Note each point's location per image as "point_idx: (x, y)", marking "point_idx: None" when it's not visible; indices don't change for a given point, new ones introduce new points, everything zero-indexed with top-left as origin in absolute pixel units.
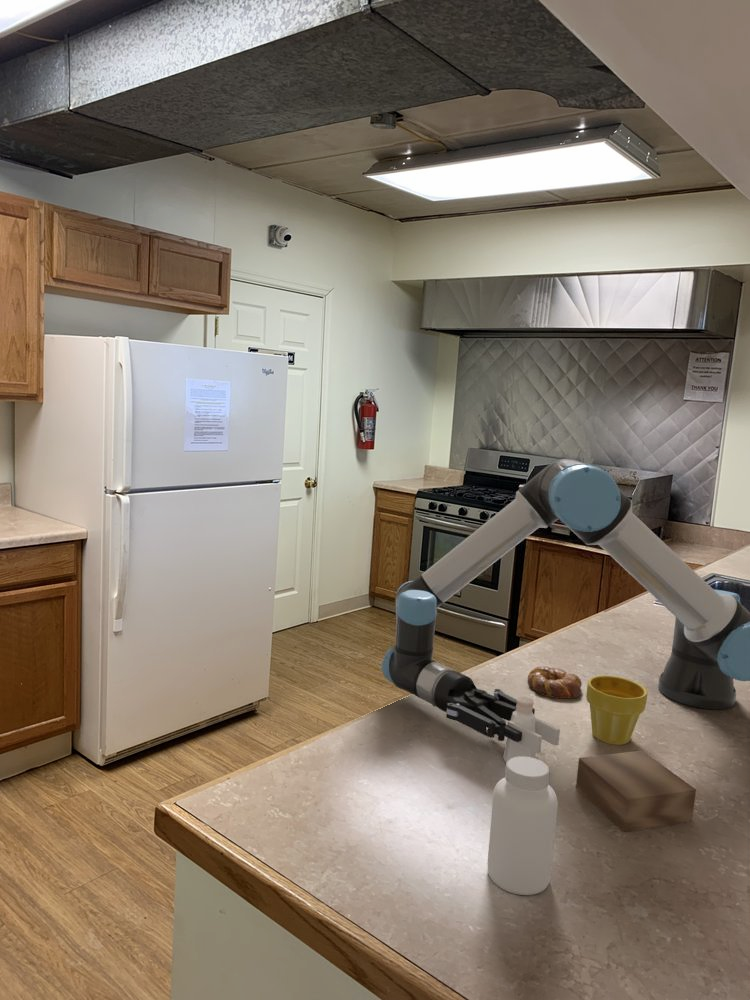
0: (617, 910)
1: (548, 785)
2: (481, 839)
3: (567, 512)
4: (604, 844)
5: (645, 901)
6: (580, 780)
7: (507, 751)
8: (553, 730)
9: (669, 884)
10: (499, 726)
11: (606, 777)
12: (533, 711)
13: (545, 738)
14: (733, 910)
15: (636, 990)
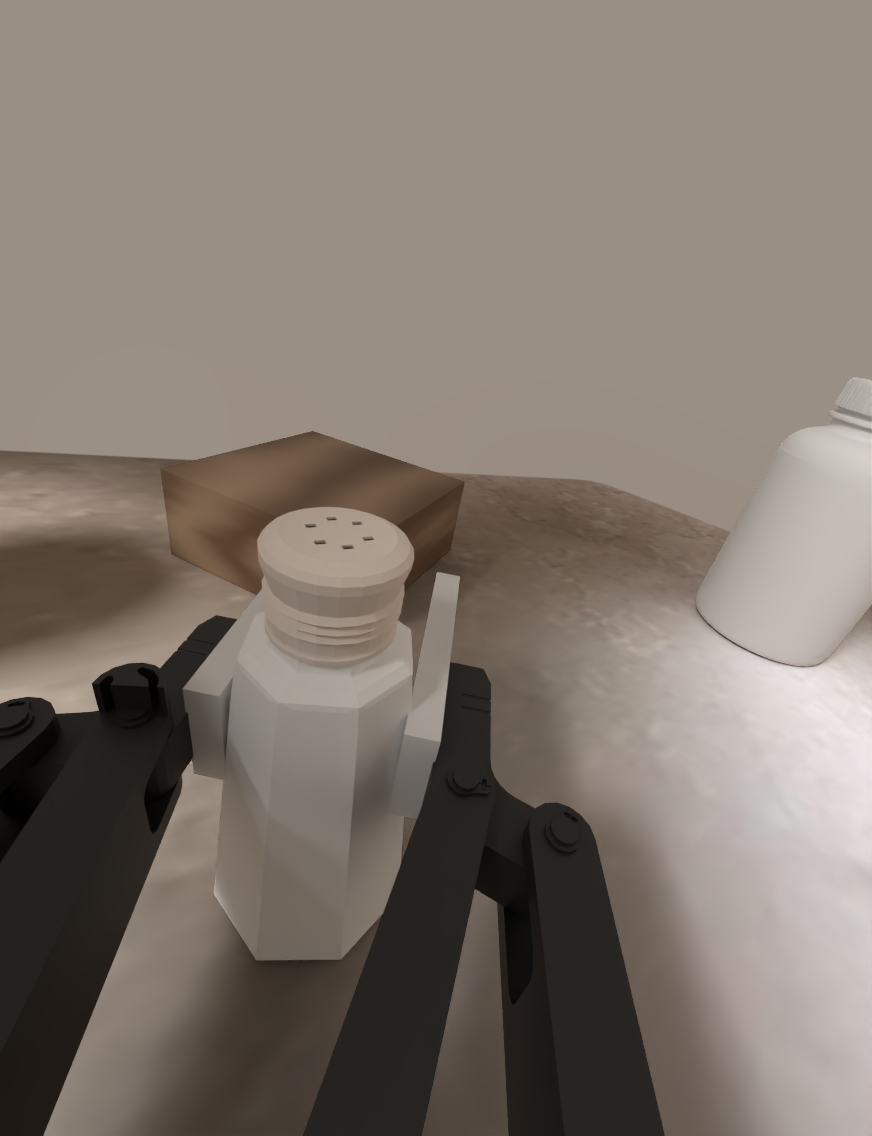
0: (632, 538)
1: (810, 428)
2: (796, 716)
3: None
4: (520, 563)
5: (579, 522)
6: None
7: (391, 866)
8: None
9: (516, 510)
10: (507, 794)
11: (411, 505)
12: (45, 707)
13: None
14: (492, 478)
15: (699, 520)
